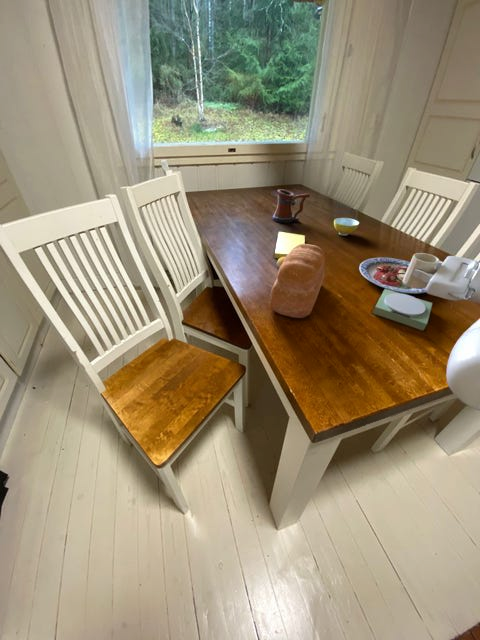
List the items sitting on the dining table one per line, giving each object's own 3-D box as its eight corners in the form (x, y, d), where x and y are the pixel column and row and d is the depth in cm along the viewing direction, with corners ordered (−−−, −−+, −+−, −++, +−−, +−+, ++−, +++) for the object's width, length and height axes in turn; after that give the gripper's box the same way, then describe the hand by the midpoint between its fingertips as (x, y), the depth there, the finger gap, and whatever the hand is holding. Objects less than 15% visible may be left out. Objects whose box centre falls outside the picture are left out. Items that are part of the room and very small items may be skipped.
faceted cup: (427, 282, 79) (440, 256, 74) (424, 291, 75) (438, 265, 70) (404, 275, 82) (415, 251, 77) (400, 284, 78) (411, 259, 73)
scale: (428, 309, 86) (433, 301, 84) (423, 330, 78) (428, 322, 76) (382, 295, 92) (385, 287, 90) (372, 313, 84) (375, 305, 82)
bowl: (329, 229, 139) (331, 217, 135) (351, 230, 139) (355, 217, 135) (334, 238, 130) (337, 225, 126) (358, 238, 130) (362, 225, 126)
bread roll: (275, 262, 110) (275, 253, 107) (296, 262, 110) (298, 252, 108) (278, 272, 103) (279, 263, 101) (301, 272, 104) (303, 262, 101)
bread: (265, 312, 84) (269, 267, 74) (288, 273, 103) (293, 234, 93) (308, 323, 80) (318, 278, 70) (324, 281, 98) (334, 241, 89)
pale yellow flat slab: (303, 260, 111) (303, 238, 130) (304, 255, 110) (304, 233, 128) (274, 257, 113) (278, 236, 131) (274, 253, 112) (278, 231, 130)
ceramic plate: (358, 258, 113) (360, 251, 112) (427, 269, 107) (431, 262, 105) (357, 289, 94) (359, 282, 93) (440, 304, 88) (445, 297, 86)
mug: (306, 218, 152) (310, 189, 143) (304, 225, 143) (309, 195, 134) (274, 215, 156) (276, 186, 146) (271, 222, 147) (273, 192, 137)
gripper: (462, 312, 64) (401, 290, 72) (477, 280, 76) (423, 264, 84) (477, 290, 61) (410, 269, 68) (490, 260, 72) (433, 245, 80)
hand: (418, 266), depth 76 cm, fingers closed on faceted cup, 6 cm apart
